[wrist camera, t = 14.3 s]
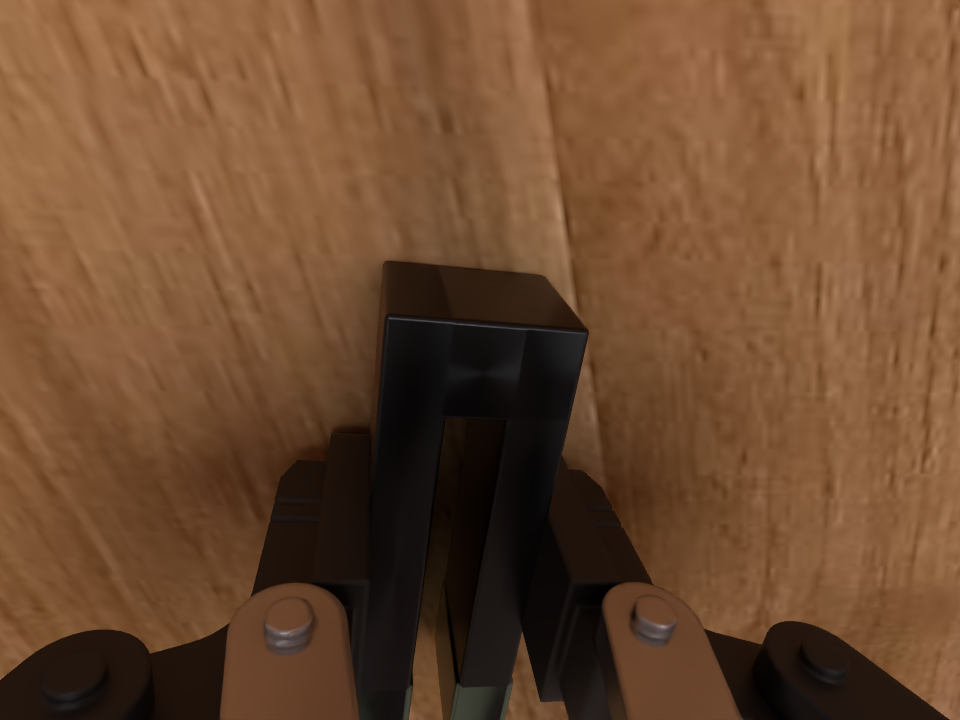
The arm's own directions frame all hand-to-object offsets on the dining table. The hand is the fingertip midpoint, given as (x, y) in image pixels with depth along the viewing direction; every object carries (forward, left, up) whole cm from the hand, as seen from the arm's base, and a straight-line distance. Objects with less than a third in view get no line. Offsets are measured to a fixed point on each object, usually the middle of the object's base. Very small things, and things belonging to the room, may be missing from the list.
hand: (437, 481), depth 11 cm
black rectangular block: (0, 0, 0) cm, 0 cm away
